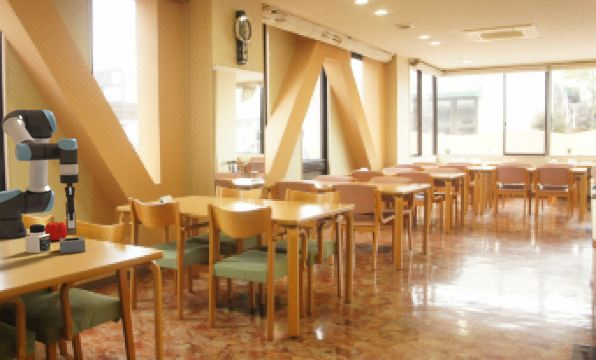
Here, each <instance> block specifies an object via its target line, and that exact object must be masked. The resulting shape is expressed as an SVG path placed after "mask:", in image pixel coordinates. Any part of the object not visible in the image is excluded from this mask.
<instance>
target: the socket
mask: <svg viewBox="0 0 596 360" xmlns="http://www.w3.org/2000/svg"><path fill="white" fill-rule="evenodd" d="M58 241H59V254H60V255H63V254H74V253H85V252H86V240H85V237H84V236H77V237H76V236H75V237H73V236H72V237H66V238H60V239H59V240H58Z"/></svg>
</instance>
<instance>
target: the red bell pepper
mask: <svg viewBox="0 0 596 360" xmlns="http://www.w3.org/2000/svg"><path fill="white" fill-rule="evenodd" d="M44 234H50V241H59V239H60V238H67V236H68V235H67V226H66V223H65V222H64V221H63V222H62V221H60V222H58V221H52V222H51V223H50V222H49V223H47V224H46V225H45V233H44Z"/></svg>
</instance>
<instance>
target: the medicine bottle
mask: <svg viewBox="0 0 596 360" xmlns="http://www.w3.org/2000/svg"><path fill="white" fill-rule="evenodd" d="M45 227H46V225H45V224H43V223H34V224H31V225H30V226H29V235H28V236H27V235H26V236H24V237H25V253H28V254H43V253H45V252H49V251H50V250H51V240H50V234H45Z"/></svg>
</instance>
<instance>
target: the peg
mask: <svg viewBox="0 0 596 360" xmlns="http://www.w3.org/2000/svg"><path fill="white" fill-rule="evenodd" d="M76 206H77V205H76V201H74V210H75V211H74V215H75V228H68V213H67V214H66V212H68V202H67V201H65V221H66V223H65V225H66V226H67V236H69V235H70V236H73V235H74V236H75V235H77V230H78V229H77V210H76Z"/></svg>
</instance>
